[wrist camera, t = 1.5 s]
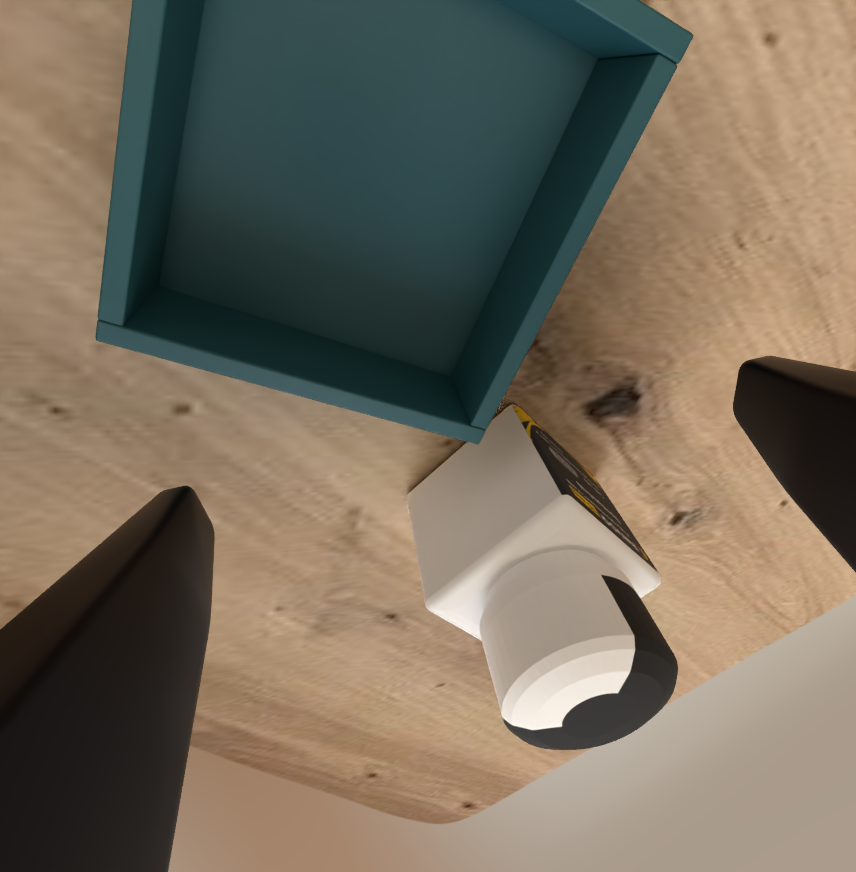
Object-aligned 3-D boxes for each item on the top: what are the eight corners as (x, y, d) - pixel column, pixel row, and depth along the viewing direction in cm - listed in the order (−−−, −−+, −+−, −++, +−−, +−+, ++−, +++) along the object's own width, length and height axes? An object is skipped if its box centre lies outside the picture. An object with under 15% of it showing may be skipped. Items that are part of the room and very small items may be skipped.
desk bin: (456, 389, 24) (479, 445, 20) (139, 292, 20) (94, 341, 16) (619, 45, 18) (695, 34, 14) (210, -200, 14) (164, -305, 10)
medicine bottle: (597, 478, 28) (743, 696, 18) (494, 558, 30) (574, 793, 20) (511, 398, 25) (634, 611, 15) (402, 494, 27) (444, 738, 17)
